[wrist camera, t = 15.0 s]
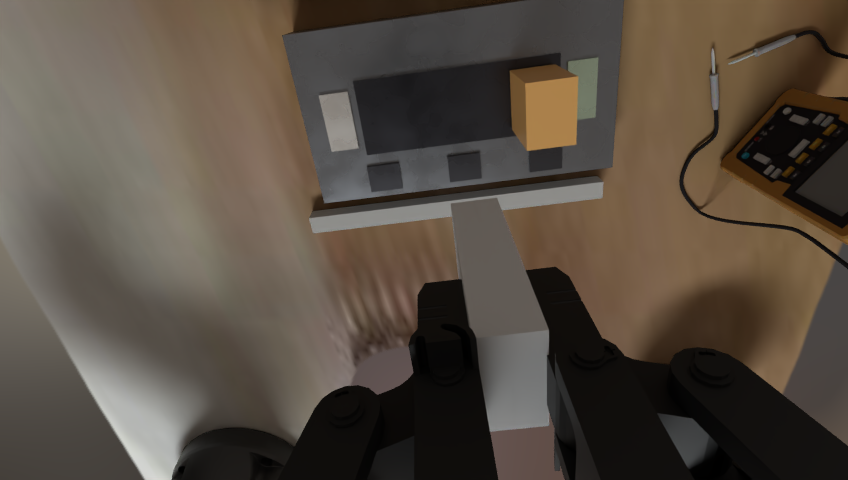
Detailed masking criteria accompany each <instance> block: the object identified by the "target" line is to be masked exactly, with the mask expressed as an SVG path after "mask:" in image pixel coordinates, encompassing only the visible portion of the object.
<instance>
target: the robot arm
mask: <svg viewBox="0 0 848 480" xmlns="http://www.w3.org/2000/svg"><path fill="white" fill-rule="evenodd" d="M450 204H451V213H452V222H453V231H454V240H455V249H456V258H457V267H458V276H459V279H458V280H449V281H440V282H432V283H425V284H424V286H423V287H422V289H421V291H420V292H419V294H418V329H417V330H416V331H415V332H414V334H413V335H412V336H411V338H410V342H409V350H410V355H411V361H412V366H413V372H414V373H413V374H412V375H411V377H410V378H409V379H408V380H407V381H405V382H404V383H403V384H401V385H400V386H398V387H396V388H394V389H392V390H389V391H387V392H384V393H382V394H379V395H377V394H375V393H374V392H373V391H371V390H370V389H369V388H366V387H362V386H358V385H357V386H345V387H342V388H340V389H337V390H334V391H332V392H331V393H330V394H328V395H327V396H325V397H324V398H323V399H322V400H321V401H320V402H319V404H318V405H317V406H316V408H315V409H314V411H313V413H312V415H311V417H310V419H309V420H308V422H307V424H306V426H305V428H304V430H303V432H302V434H301V436H300V438H299V440H298V441H297V443H296V445H295V447H294V448H293V447H292V446H291V445H289V444H288V443H286V442H285V441H283V440H281V439H279V438H277V437H275V436H272V435H270V434H267V433H263V432H259V431H255V430H249V429H236V428H233V429H221V430H215V431H211V432H208V433H205V434H203V435H201V436H198V437H197V438H195V439H194V440H192V441H191V442H190V443H189V444H188V445H187V446H186V447H185V449H184V450H183V452H182V454H181V456H180V458H179V460H178V462H177V464H176V466H175V468H174V471H173V475H172V480H498V475H497V470H496V464H495V458H494V452H493V446H492V440H491V435H490V432H491V431H501V430H511V429H520V428H531V427H541V426H549V413H550V416H551V419H552V422H553V425H554V428H555V432H554V434H555V435H554V438H555V439H554V465H555V471H560V466H561V469H562V472H563V475H564V479H565V480H848V446H847V445H846V444H845V443H843V442H842V441H841V440H840V439H838V438H837V437H836V436H834V435H833V434H832V433H831V432H829V431H828V430H827V429H826V428H824V427H823V426H822V425H821V424H819V423H818V422H817V421H815V420H814V419H813V418H812V417H810V416H809V415H808V414H807V413H805V412H804V411H803V410H801V409H800V408H799V407H798V406H796V405H795V404H794V403H792V402H791V401H790V400H789V399H787V398H786V397H785V396H784V395H782V394H781V393H780V392H779V391H777V390H776V389H775V388H773V387H772V386H771V385H770V384H768V383H767V382H766V381H764V380H763V379H762V378H761V377H759V376H758V375H757V374H756V373H754V372H753V371H752V370H750V369H749V368H748V367H747V366H745V365H744V364H743V363H742V362H740V361H738V360H737V359H735V358H733V357H732V356H730V355H728V354H726V353H723V352H720V351H717V350H714V349H707V348H699V347H696V348H689V349H684V350H682V351H680V352H678V353H676V354H675V355H674V357H673V358H672V360H671V362H670V365H667V364H660V363H652V362H644V361H639V360H634V359H631V358H628V357H626V356H624V354H623V353H622V352H621V351H620V350H619V349H618V347H617V346H616V345H614V344H613V343H611V342H609V341H607V340H606V339H603V338H602V337H601V335H600V333H599V331H598V330H597V328H596V326H595V324H594V322H593V320H592V318H591V317H590V315H589V313H588V311H587V309H586V307H585V305H584V304H583V302H582V301H581V298H580V296H579V294H578V292H577V291H576V289H575V287H574V285H573V283H572V281H571V279H570V277H569V276H568V275H566V274H565V273H563V272H562V271H561V270H559V269H558V268H556V267H550V268H541V269H533V270H525V268H524V265H523V263H522V260H521V258H520V255H519V252H518V250H517V247H516V245H515V242H514V240H513V237H512V235H511V232H510V230H509V227H508V224H507V222H506V219H505V217H504V214H503V212H502V209H501V207H500V204H499V201H498V199H497V198H490V199H482V200H474V201H466V202H458V203H450Z"/></svg>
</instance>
